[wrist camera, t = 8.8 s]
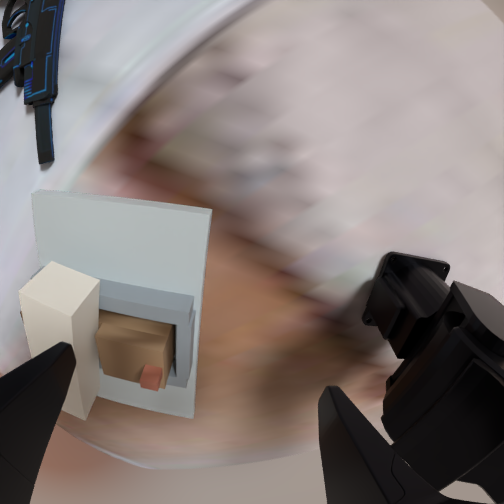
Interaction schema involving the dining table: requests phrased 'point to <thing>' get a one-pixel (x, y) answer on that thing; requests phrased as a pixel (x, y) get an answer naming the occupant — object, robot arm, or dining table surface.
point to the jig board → (135, 275)
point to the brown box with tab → (135, 348)
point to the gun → (34, 62)
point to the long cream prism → (65, 326)
